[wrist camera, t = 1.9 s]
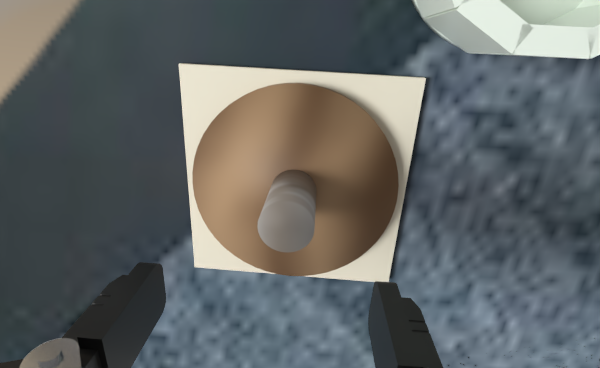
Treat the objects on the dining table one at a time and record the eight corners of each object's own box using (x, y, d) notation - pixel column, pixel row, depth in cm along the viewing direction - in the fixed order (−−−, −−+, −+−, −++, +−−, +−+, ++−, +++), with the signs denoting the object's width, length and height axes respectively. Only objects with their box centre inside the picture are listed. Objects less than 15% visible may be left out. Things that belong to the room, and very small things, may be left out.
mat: (423, 77, 21) (425, 78, 20) (386, 278, 26) (388, 283, 26) (182, 63, 21) (178, 63, 21) (197, 262, 27) (194, 267, 26)
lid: (411, 89, 20) (444, 104, 15) (380, 274, 26) (396, 337, 20) (190, 76, 21) (143, 86, 15) (203, 260, 26) (170, 317, 21)
